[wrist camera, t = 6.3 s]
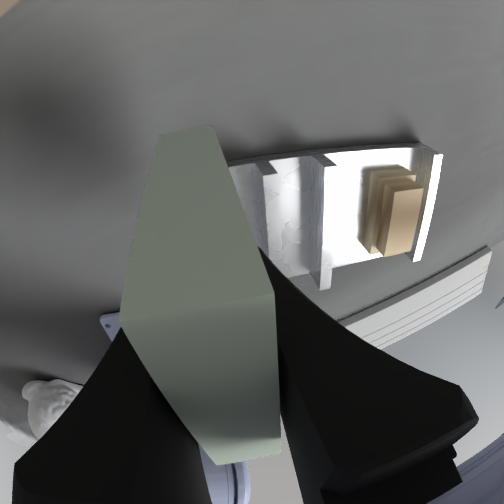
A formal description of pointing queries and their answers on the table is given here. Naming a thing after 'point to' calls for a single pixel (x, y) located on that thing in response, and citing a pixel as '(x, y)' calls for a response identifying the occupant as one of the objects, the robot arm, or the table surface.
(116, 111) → the table surface
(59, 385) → the rabbit
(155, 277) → the pale green rectangular block
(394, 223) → the offcut upper
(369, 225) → the offcut lower
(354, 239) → the rack
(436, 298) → the white board
